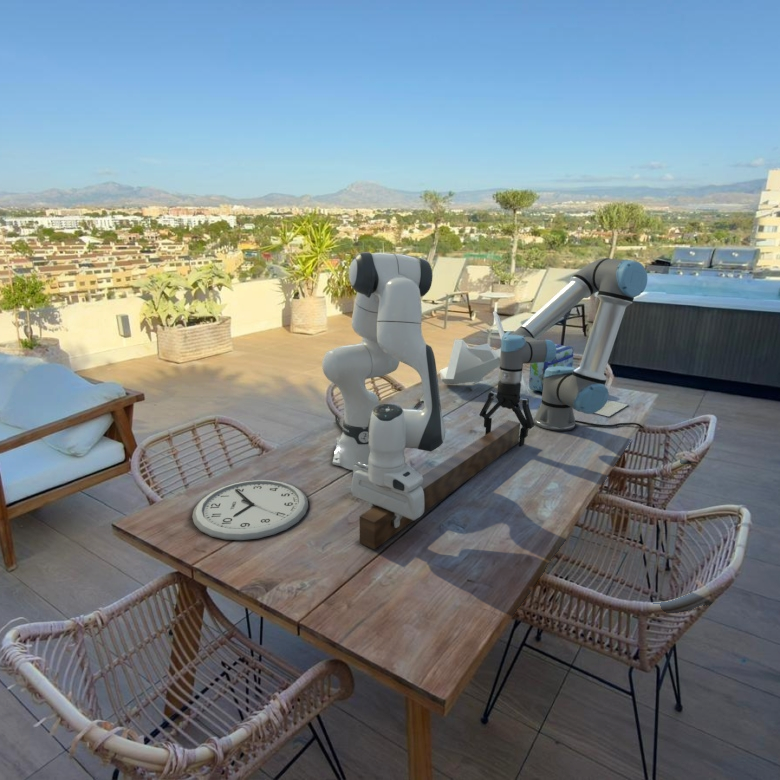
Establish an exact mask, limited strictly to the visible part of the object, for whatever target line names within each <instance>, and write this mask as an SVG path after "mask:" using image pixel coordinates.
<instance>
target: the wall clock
mask: <svg viewBox="0 0 780 780" xmlns="http://www.w3.org/2000/svg"><path fill="white" fill-rule="evenodd" d="M308 509H309V502H308V498H307V496H306V494H305V493H304V492H303V491H302V490H300V489H299V488H297V487H296V486H294V485H292V484H289V483H286V482H284V481H283V482H282V481H276V480H268V479H267V480H266V479H257V480H245V481H240V482H236V483H231V484H229V485H226V486H223V487H220V488H218V489H216V490H214V491H212V492H210V493H209V494H207V495H205V497H203V498H202V499H201V500H200V501H198V503H197V504H196V506H195V507H194V508H193V512H192V516H191V517H192V521H193V524H194V526H195V527H196V528H197V530H199V531H200V532H201V533H203V534H206V535H207V536H210V537H212V538H216V539H222V540H226V541H227V540H229V541H245V540H246V541H247V540H256V539H261V538H265V537H266V538H267V537H271V536H274V535H276V534H278V533H281V532H283V531H286V530H288V529H289V528H291V527H293V526H295V525H296V524H297V523H299V522H300V521H301V520H302V518H304V516H305V515H306V513H307V511H308Z"/></svg>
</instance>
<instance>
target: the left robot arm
mask: <svg viewBox="0 0 780 780" xmlns="http://www.w3.org/2000/svg"><path fill="white" fill-rule="evenodd" d="M433 276H434V275H433V269H432V265H431V263H430V262H429V261H428V260H426V259H424V258H421V257H418V256H415V257H413V256H409V255H404V254H401V253H382V252H381V253H379V252H377V253H376V252H375V253H371V252H370V251H368V252H367V251H366V252H359V253H357V254H356V255H354V257H352V259H351V262H350V265H349V267H348V279H349V284H350V286H351V288H352V289H353V291H355V292H356V295H355V301H354V305H353V311H352V316H351V321H350V323H351V324H350V325H351V327H352V329H353V331H354V333H356V334H357V335H358V336H359V337H361V339H362V340H361V342H360V343H356V344H349V345H341V346H337V347H335V348H332V349H330V350H328V351H326V352H325V354H324V356H323V358H322V362H321V368H322V372H323V375H324V376H325V378H326V379H327V380H328V381H329V382H331V383H333V384H334V385H335V386H336V387H337V388H338V390H339V392H340V393H341V396H342V402H343V415H344V417H343V418H344V419H343V421H342V426H341V424H340V423H339V422H338V414H335V418H334V419H335V424H336V425H337V426H338V428H339V429H340V430H341V431H342V432H341V435H340V437H336V438H335V445H336V446H335V450H334V454H333V458H332V465H334V466H336V467H337V466H338V467H342V468H344V469H346V470H349V471H352V478H351V485H350V492H351V494H352V496H353V497H354V498H357V499H359V500H362V501H364V502H367V506H368V509H369V510H370V509H371V508H373V507H374V506H376V505H377V506H379V507H381V508H384V509H386V510H389V511H391V512H394V513H395V516H397V517H395V518H394V519H392V520H391V526H393V527H395V528H397V527H399V525H400V519H401V518H402V517H403V516H404V517H406V518H409V519H411V520H413V521H417V519H419V518H420V517H422V516H423V515H424V513H425V512H424V491H423V489H422V487H421V486H420V485H421V484H422V483H423V477H422V475H423V474H420V473H419V472H417V470H415V469H414V468H413V467H411V466H410V465H409V464H408V463H407V462H406V456H405V449H416V450H420V451H425V452H431V453H432V452H433V451H435V450H436V449H438V448H439V447H440V446H442V444H444V441H445V437H446V425H445V421H444V417H443V414H442V407H441V398H440V397H441V396H440V389H439V388H440V387H439V381H438V380H439V378H438V372H437V364H436V357H435V353H434V350H433V347H432V346H431V345H429V344H427V343H426V341H425V339H424V336H423V332H422V322H423V321H422V319H423V312H422V311H423V308H422V297H424V296H426V295H427V294H428V293H429V291H430V289H431V287H432V283H433ZM400 363H401V364H402V363H403V364H404V365H407V366H409V367H411V368H412V369H414V370H415V371H416V372H417V374H418V375H419V377H420V382H421V389H422V394H423V395H422V398H423V399H424V401H423V406H424V407H423V409H409V408H403V407H401V406H400V405H398V404H395V403H381V404H380V399H379V396H378V394H377V393H375V392H374V391H373V390H370V389H369V388H367V386H366V380H370V379H374V378H380V377H384V376H387V375H389V374H391V373H394V372H395V371H397V369H398V368H399V365H400Z"/></svg>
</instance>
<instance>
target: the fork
mask: <svg viewBox="0 0 780 780" xmlns="http://www.w3.org/2000/svg"><path fill="white" fill-rule="evenodd" d="M422 402H424V399H423V393H422V395H421V397H420V399H419V401H417V402H416V404H415V406H414V409H416V408H417V407H418V406H420V404H421V403H422Z"/></svg>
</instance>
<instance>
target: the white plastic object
mask: <svg viewBox="0 0 780 780" xmlns="http://www.w3.org/2000/svg"><path fill="white" fill-rule="evenodd" d="M492 315H493V319H494V321H495V324H496V325H495V326H496V328H497V332H498V335H499V338H500V340H501V339H502V337H503V335H504V334H505V331H504V328H503V325H502V321H501V318H500V315H499V314H498V312H497V311H496V310H495V311H492ZM500 355H501V347H500V348H498V349H496V350H495V349H493V348H492V347H491V346H490V344H489V343H488V342H487V343H483V344H479V345H473V346H469V345H468V343H466V342H465V340H464V339H463V338H460V339H458V338H454V340H453V344H452V349H451V353H450V357H449V362H448V366H446V367H444V368H442V369H440V370H439V371H438V372H439V376H440V381H442V383H443V384H444V385H445V386H449V385H458V384H467V383H468V384H469V383H473V384H477V383H480V382H482V381H484V378H485V377H486V376H487V375H489V374H490V373H492V372H494V371H495V370H496V369H497V368H500ZM520 383H521V389H522V391H523V393H524V395H525V396H526V397H528V396H531V395H530V389H529V388H528V387H529V386H528V384H527V381H526V378H525V375H524V371H523V370H522V379H521V382H520Z"/></svg>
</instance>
